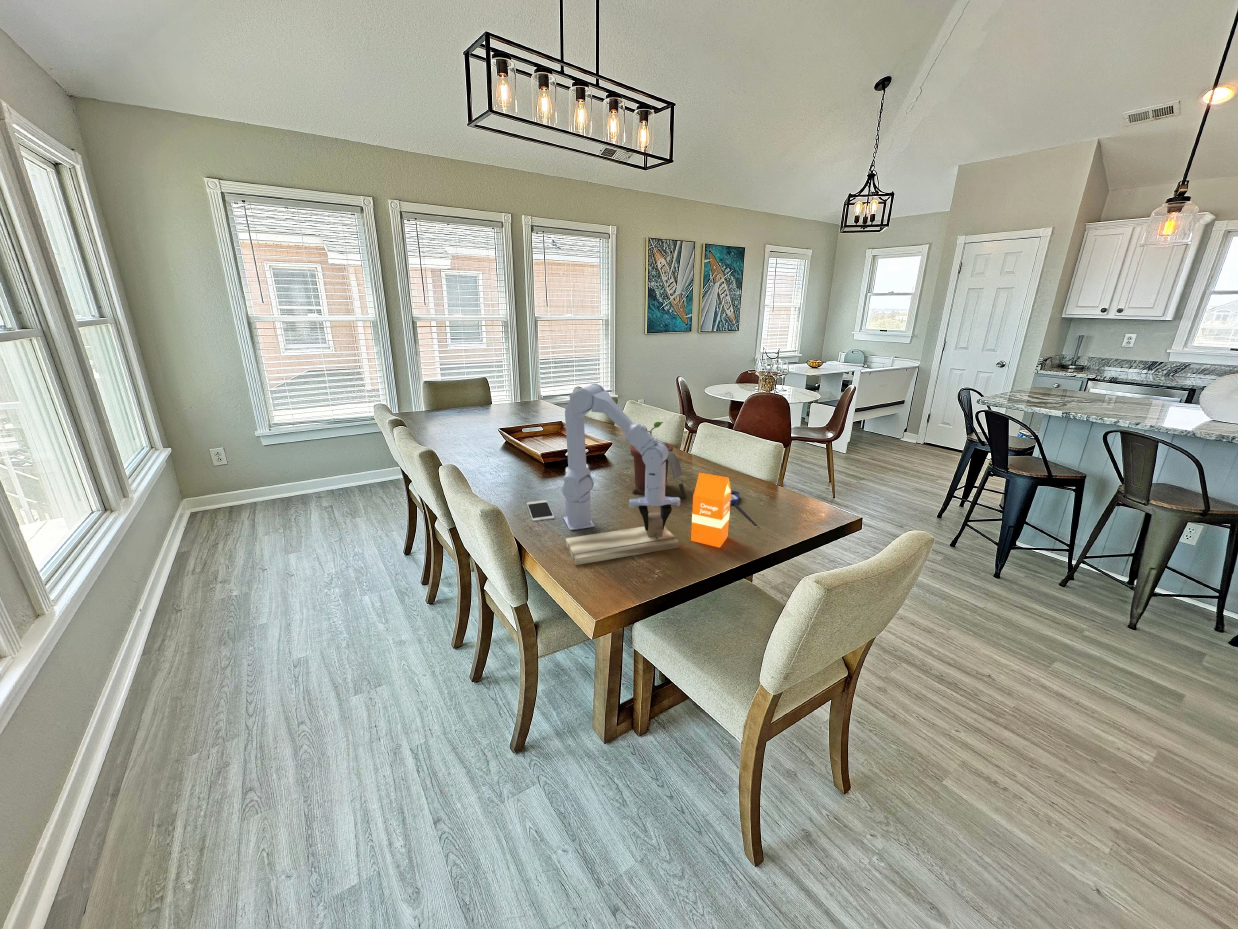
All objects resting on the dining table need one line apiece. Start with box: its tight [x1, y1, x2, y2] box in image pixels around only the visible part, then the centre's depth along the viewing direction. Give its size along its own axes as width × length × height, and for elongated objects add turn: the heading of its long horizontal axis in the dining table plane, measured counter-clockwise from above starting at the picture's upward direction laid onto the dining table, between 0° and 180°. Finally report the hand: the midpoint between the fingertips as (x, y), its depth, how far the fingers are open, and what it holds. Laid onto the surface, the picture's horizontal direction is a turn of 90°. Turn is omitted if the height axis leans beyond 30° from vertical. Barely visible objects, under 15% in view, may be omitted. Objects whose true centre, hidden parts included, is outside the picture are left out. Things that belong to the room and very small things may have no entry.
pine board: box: [565, 526, 680, 566], centre depth 137 cm, size 12×30×2 cm, turn 109°
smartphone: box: [526, 499, 555, 523], centre depth 160 cm, size 7×15×1 cm, turn 18°
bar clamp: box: [730, 489, 763, 531], centre depth 158 cm, size 32×2×10 cm
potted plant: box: [629, 421, 687, 499], centre depth 174 cm, size 18×22×25 cm
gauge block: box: [647, 512, 663, 539], centre depth 139 cm, size 8×4×5 cm, turn 6°
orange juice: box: [690, 472, 732, 548], centre depth 138 cm, size 8×9×20 cm
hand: (654, 528), depth 140 cm, fingers closed on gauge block, 4 cm apart
